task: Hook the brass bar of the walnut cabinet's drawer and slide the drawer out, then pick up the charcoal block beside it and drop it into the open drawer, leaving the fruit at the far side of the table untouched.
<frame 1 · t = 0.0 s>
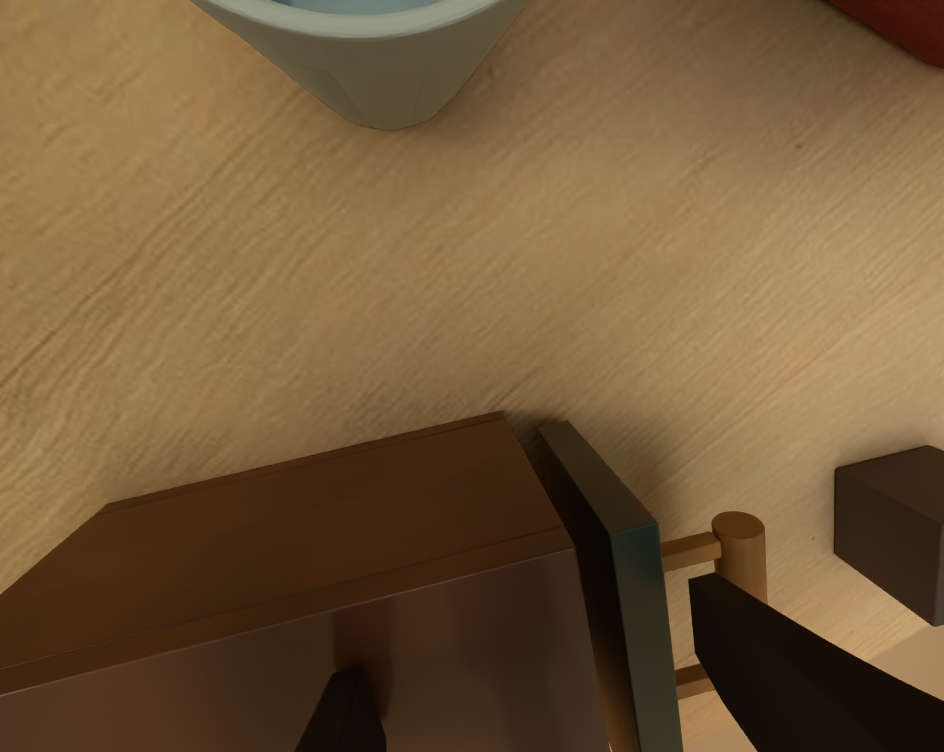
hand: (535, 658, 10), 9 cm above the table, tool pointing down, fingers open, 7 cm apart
drawer: (487, 649, 16), point 4 cm above the table, slide at 1.0 cm
cabinet: (354, 595, 20), on the table
cup: (382, 33, 15), on the table
block: (880, 500, 21), on the table
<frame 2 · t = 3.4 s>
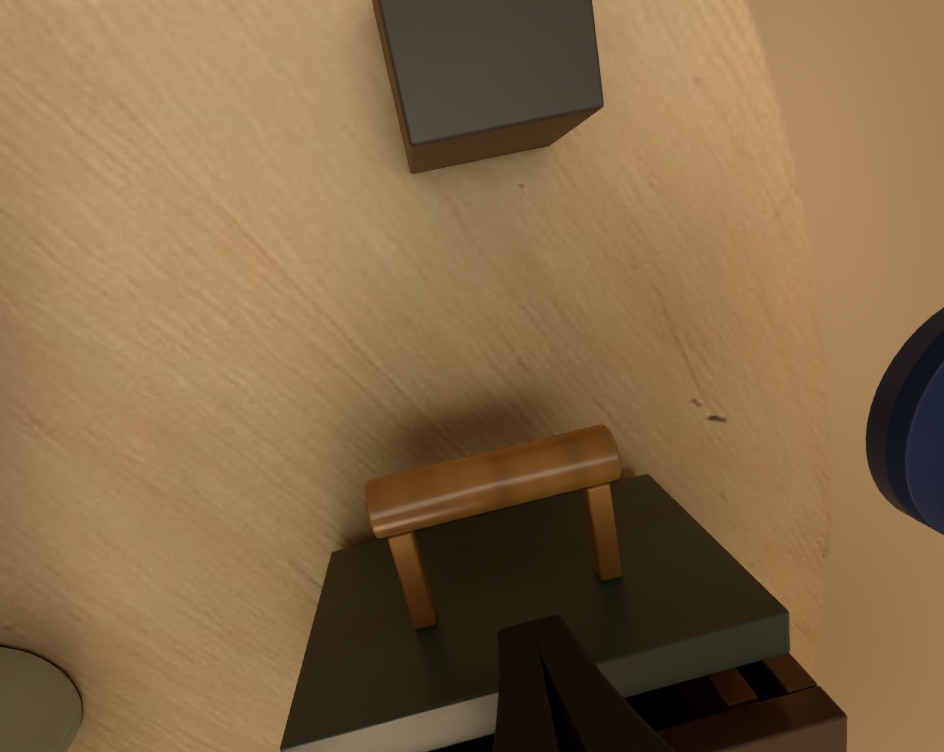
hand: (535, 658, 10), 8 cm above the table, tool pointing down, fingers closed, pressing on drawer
drawer: (538, 699, 15), point 4 cm above the table, slide at 1.0 cm, touching gripper
cabinet: (531, 694, 20), on the table
cup: (5, 701, 18), on the table
block: (466, 79, 14), on the table
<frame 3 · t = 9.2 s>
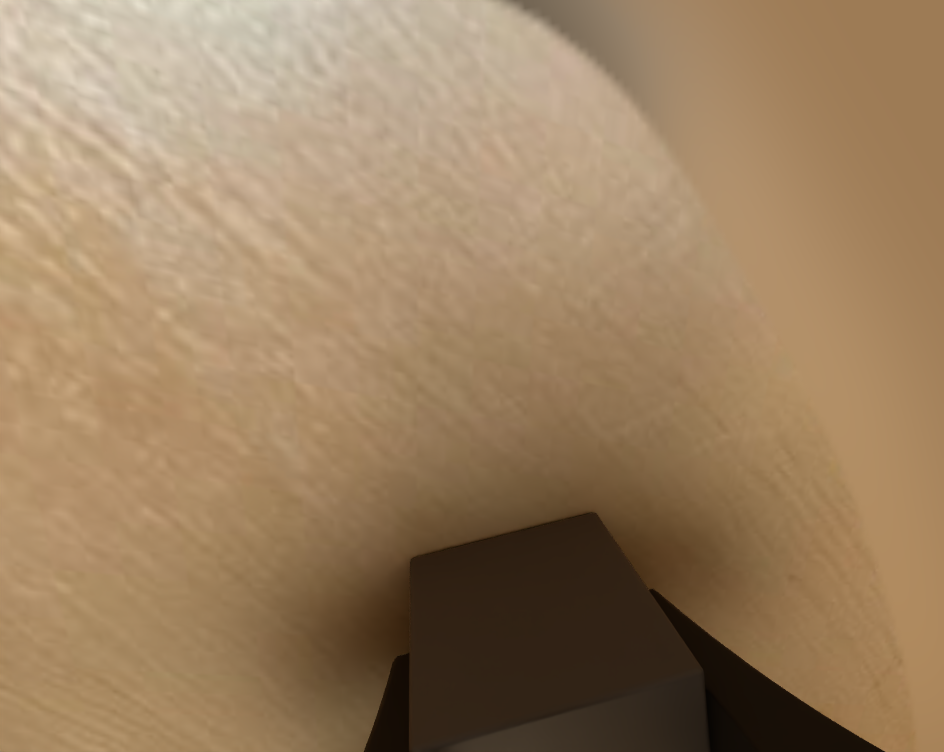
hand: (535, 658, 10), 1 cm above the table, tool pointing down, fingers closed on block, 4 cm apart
block: (520, 610, 12), on the table, touching gripper
when the fingers open (6 cm above the table, at t = 13.5 s): block drops 3 cm, resting on drawer.
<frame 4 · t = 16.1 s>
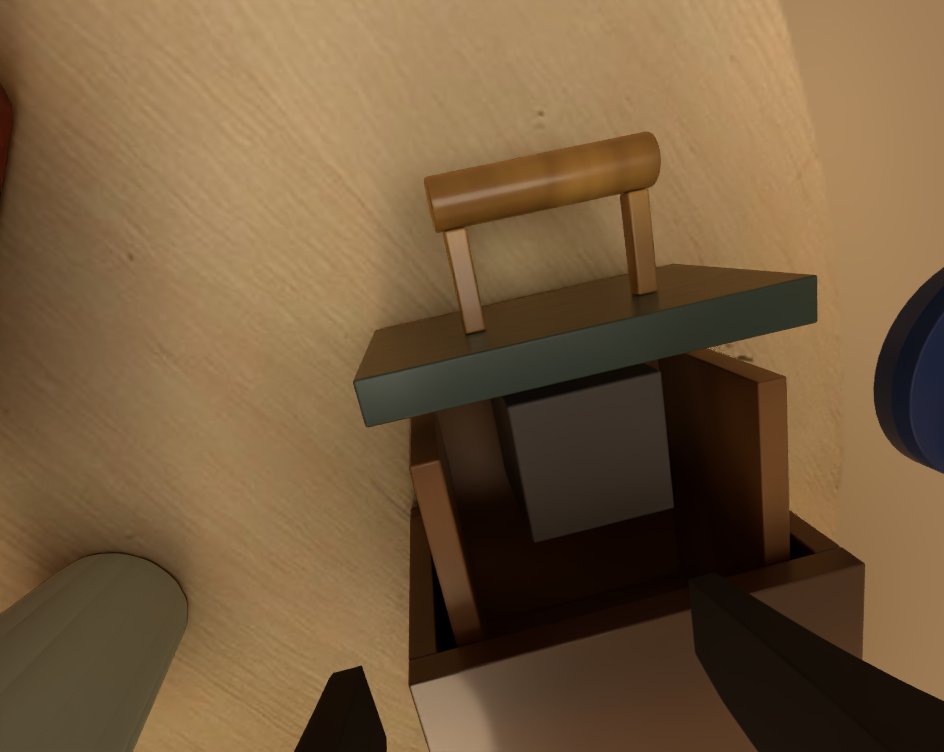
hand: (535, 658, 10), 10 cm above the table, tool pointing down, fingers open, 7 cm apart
drawer: (574, 446, 16), point 4 cm above the table, slide at 6.7 cm, touching block
cabinet: (576, 609, 23), on the table
cup: (121, 605, 20), on the table
block: (553, 409, 18), point 2 cm above the table, touching drawer
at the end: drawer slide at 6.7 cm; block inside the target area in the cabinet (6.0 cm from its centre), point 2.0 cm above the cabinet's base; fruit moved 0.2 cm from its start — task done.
